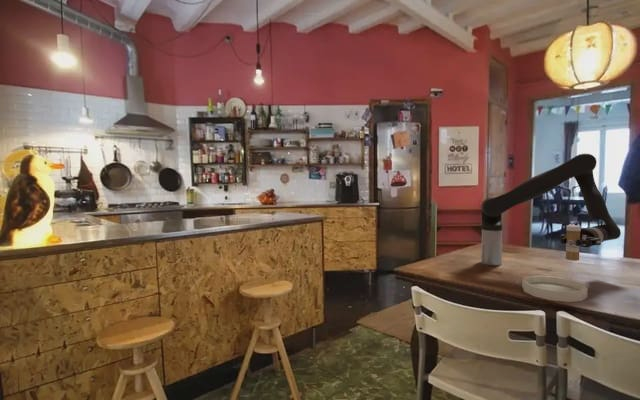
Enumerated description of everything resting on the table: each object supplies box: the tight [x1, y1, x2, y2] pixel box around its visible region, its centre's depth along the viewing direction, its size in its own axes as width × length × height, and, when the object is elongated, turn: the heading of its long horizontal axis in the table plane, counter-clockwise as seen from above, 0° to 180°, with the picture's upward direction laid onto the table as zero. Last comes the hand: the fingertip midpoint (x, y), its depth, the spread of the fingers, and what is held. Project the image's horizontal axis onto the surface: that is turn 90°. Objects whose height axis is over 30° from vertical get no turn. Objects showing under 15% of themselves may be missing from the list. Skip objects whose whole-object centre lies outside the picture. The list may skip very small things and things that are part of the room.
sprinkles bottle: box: [565, 224, 582, 262], centre depth 139 cm, size 5×5×13 cm
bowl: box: [521, 275, 589, 303], centre depth 136 cm, size 20×20×4 cm
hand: (569, 242), depth 137 cm, fingers closed on sprinkles bottle, 4 cm apart
